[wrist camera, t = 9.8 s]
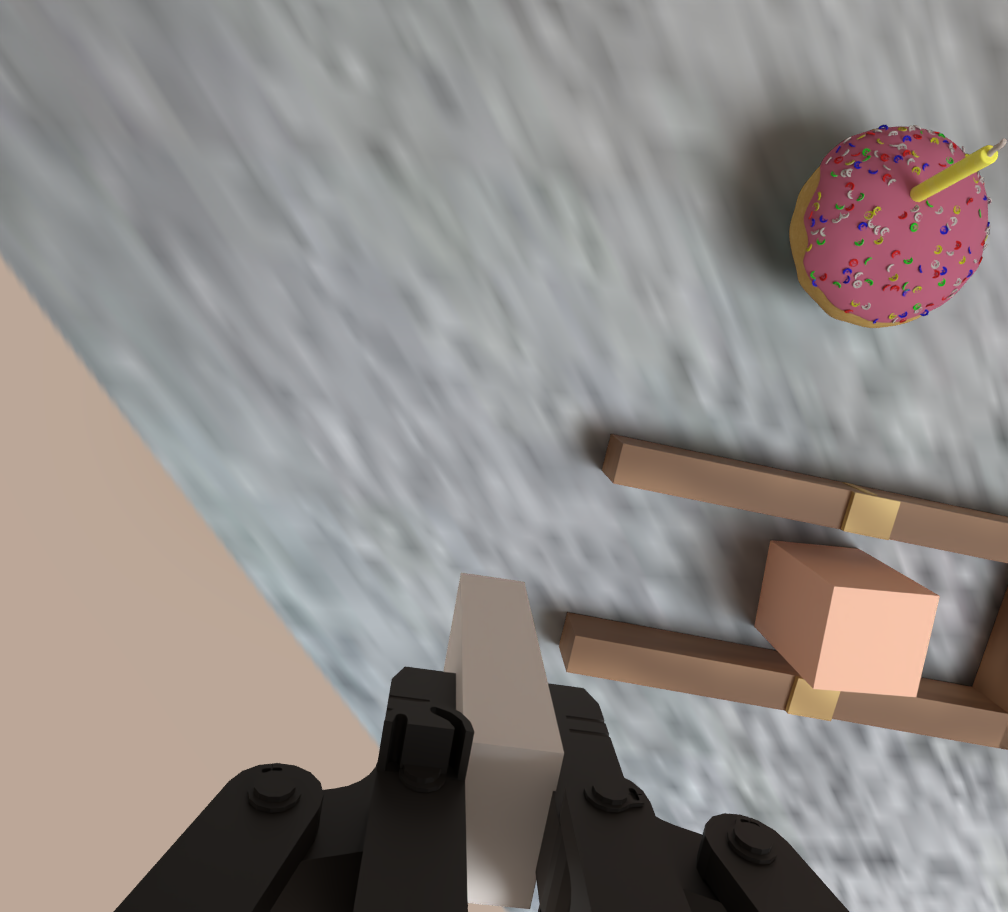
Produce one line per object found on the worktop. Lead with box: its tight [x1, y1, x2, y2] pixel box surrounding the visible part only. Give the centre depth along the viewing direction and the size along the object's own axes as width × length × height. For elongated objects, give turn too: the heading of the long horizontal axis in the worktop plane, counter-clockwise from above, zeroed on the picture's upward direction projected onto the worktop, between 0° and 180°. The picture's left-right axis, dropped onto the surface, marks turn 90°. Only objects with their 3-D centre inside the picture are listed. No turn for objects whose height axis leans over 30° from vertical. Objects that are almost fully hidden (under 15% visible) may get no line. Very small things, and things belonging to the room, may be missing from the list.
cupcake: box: [789, 125, 1007, 328], centre depth 31 cm, size 9×8×12 cm
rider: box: [754, 540, 940, 697], centre depth 37 cm, size 5×5×7 cm
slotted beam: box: [559, 434, 1008, 750], centre depth 39 cm, size 12×26×3 cm, turn 78°
